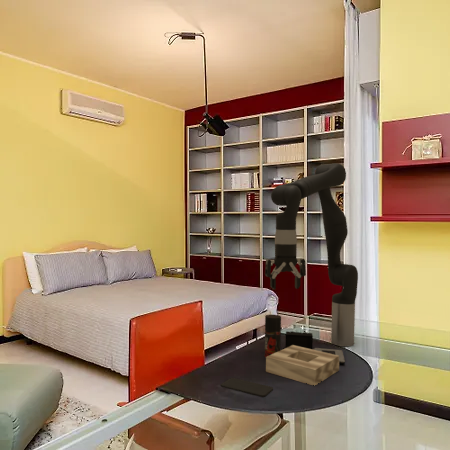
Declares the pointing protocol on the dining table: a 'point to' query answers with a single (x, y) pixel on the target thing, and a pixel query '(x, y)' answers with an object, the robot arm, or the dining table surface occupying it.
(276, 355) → the holder
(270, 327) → the deodorant
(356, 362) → the dining table surface
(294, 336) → the digital camera
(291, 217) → the robot arm
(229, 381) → the phone
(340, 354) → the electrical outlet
